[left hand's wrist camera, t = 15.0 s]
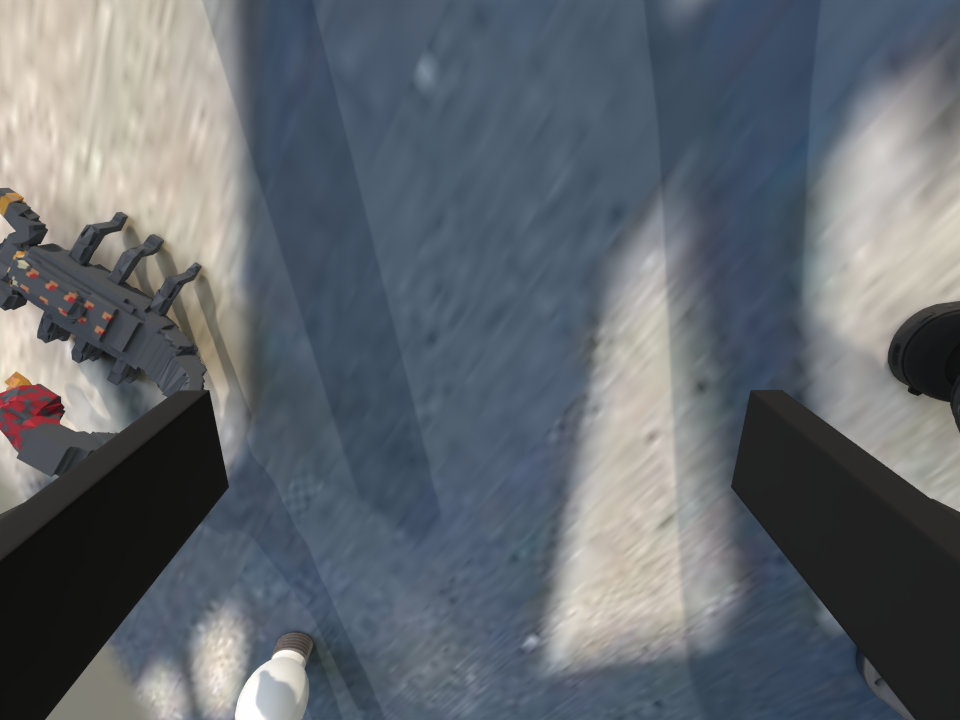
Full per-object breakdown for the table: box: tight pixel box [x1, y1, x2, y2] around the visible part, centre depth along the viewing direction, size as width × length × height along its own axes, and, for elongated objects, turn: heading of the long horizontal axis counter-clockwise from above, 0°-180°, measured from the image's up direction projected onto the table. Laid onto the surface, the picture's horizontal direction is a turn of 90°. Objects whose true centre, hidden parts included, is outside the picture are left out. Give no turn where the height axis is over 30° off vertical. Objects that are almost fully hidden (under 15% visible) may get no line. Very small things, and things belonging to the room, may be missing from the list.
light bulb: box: [235, 633, 313, 720], centre depth 53 cm, size 7×7×11 cm
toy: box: [0, 188, 207, 477], centre depth 36 cm, size 13×27×18 cm, turn 52°
